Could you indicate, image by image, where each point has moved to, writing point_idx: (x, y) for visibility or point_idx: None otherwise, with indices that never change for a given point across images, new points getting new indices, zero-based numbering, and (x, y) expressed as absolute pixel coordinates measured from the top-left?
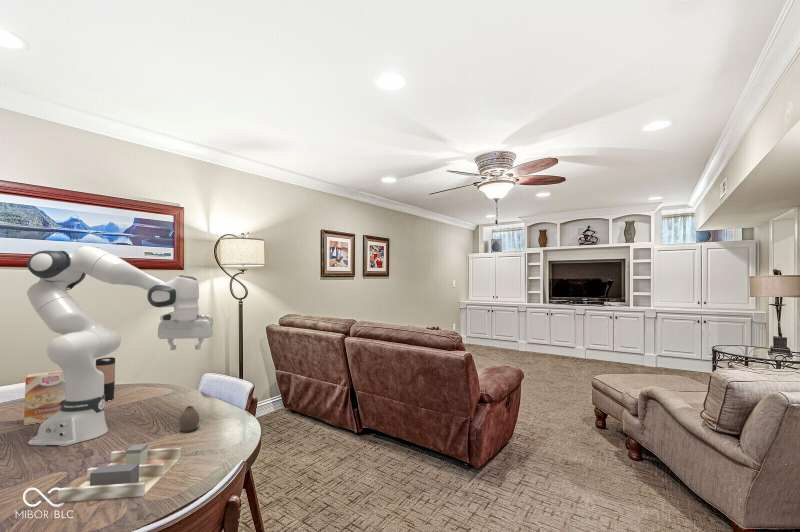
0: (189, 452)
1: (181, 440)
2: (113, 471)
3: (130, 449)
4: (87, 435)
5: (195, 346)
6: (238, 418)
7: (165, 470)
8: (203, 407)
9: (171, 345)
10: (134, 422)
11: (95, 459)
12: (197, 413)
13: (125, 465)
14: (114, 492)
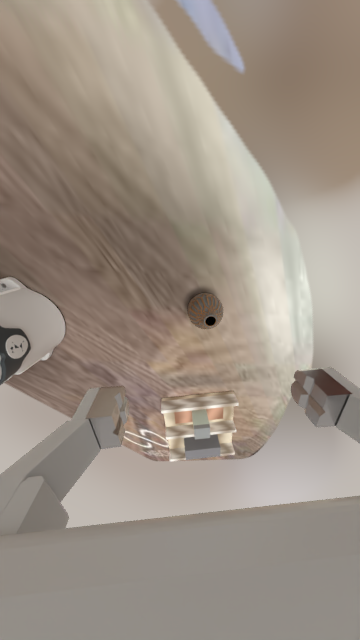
0: (235, 374)
1: (209, 343)
2: (205, 457)
3: (198, 437)
4: (55, 344)
5: (310, 416)
6: (277, 249)
7: (230, 415)
8: (166, 144)
9: (93, 452)
10: (65, 260)
11: (130, 388)
12: (222, 312)
13: (209, 450)
14: None
